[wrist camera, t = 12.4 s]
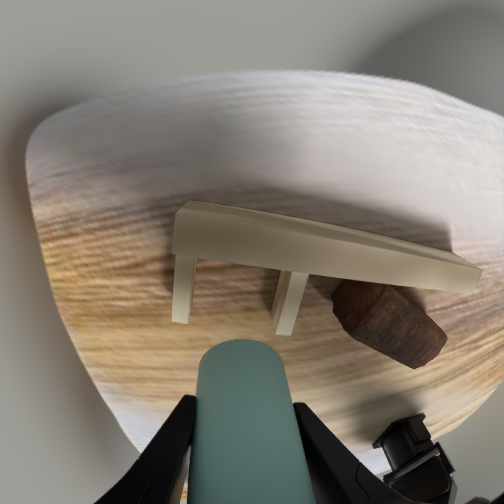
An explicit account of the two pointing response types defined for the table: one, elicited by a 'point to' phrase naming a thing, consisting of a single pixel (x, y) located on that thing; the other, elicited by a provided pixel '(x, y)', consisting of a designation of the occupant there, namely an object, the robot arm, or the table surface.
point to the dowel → (246, 430)
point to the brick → (387, 322)
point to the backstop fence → (303, 256)
